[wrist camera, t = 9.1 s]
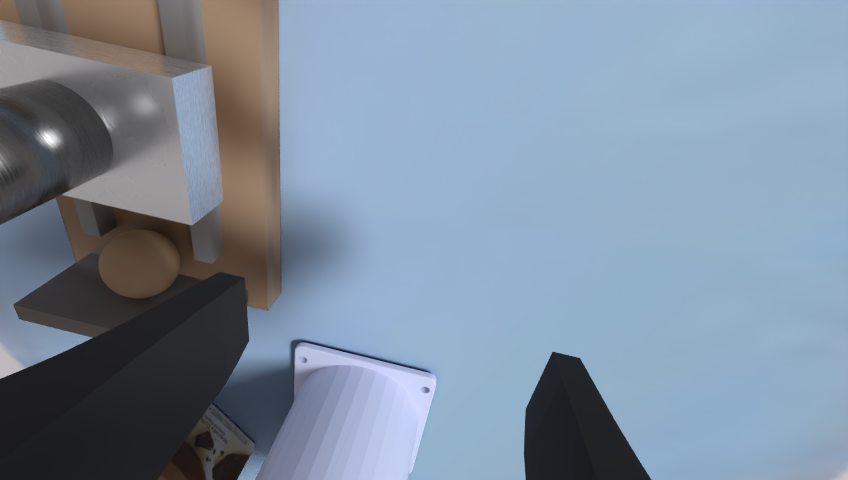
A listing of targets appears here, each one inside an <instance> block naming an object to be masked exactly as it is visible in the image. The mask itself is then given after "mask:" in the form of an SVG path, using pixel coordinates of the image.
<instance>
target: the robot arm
mask: <svg viewBox="0 0 848 480" xmlns="http://www.w3.org/2000/svg"><path fill="white" fill-rule="evenodd" d="M248 342H249V333H248V318H247V303H246V288H245V278H243V277H239V276H235V275H231V274H227V273H223V272H218V273H216V274H215V275H213V276H211V277H209V278H207V279H205V280H203V281H201V282H199V283H197V284H196V285H194V286H192V287H190V288H188V289H186V290H185V291H183V292H181V293H179V294H177V295H175V296H174V297H172V298H170V299H168V300H166V301H164V302H162V303H161V304H159V305H157V306H155V307H153V308H151V309H149V310H147V311H145V312H144V313H142V314H140V315H138V316H136V317H134V318H132V319H130V320H129V321H127V322H125V323H123V324H121V325H119V326H117V327H114V328H112V329H110V330H108V331H106V332H104V333H102V334H100V335H98V336H96V337H94V338H92V339H90V340H88V341H86V342H84V343H82V344H79V345H77V346H75V347H73V348H71V349H69V350H67V351H65V352H63V353H60V354H58V355H56V356H54V357H52V358H49V359H47V360H45V361H42V362H40V363H38V364H35V365H33V366H31V367H28V368H26V369H23V370H21V371H19V372H16V373H14V374H11V375H9V376H6V377H4V378H1V379H0V480H158V478H159V477H160V475H161V474H162V472H163V471H164V469H165V468H166V466H167V465H168V464H169V462H170V461H171V459H172V458H173V457H174V455H175V454H176V452H177V451H178V450H179V448H180V447H181V445H182V444H183V443H184V441H185V440H186V438H187V437H188V436H189V434H190V433H191V431H192V430H193V429H194V427H195V426H196V424H197V423H198V422H199V420H200V419H201V417H202V416H203V415H204V413H205V412H206V410H207V409H208V408H209V406H210V405H211V403H212V402H213V400H214V399H215V398H216V396H217V395H218V393H219V392H220V391H221V389H222V388H223V386H224V385H225V383H226V382H227V380H228V379H229V377H230V375H231V373H232V372H233V370H234V368H235V366H236V365H237V363H238V361H239V359H240V357H241V355H242V353H243V351H244V349H245V347H246V346H247V344H248ZM436 382H437V379H436V377H435V376H434V375H433V374H431V373H428V372H423V371H419V370H415V369H411V368H407V367H403V366H399V365H395V364H391V363H387V362H383V361H379V360H375V359H370V358H366V357H362V356H358V355H354V354H350V353H346V352H342V351H338V350H334V349H330V348H326V347H322V346H317V345H313V344H309V343H304V342H302V343H299V344H298V345H297V347H296V348H295V365H294V403H293V405H292V407H291V409H290V411H289V413H288V415H287V417H286V419H285V421H284V423H283V425H282V427H281V429H280V431H279V433H278V435H277V437H276V439H275V441H274V443H273V445H272V447H271V449H270V451H269V453H268V455H267V457H266V459H265V461H264V463H263V465H262V467H261V469H260V471H259V473H258V475H257V477H256V479H255V480H407V479H408V474H409V473H411V472H412V469H413V466H414V462H415V459H416V455H417V451H418V448H419V444H420V441H421V437H422V433H423V430H424V426H425V423H426V419H427V416H428V412H429V408H430V405H431V401H432V398H433V394H434V391H435V387H436ZM426 387H427V388H426ZM524 460H525V474H526V480H651V479H650V477H649V475H648V474H647V472H646V471H645V469H644V468H643V466H642V464H641V463H640V461H639V460H638V458H637V456H636V455H635V453H634V451H633V450H632V448H631V446H630V445H629V443H628V441H627V440H626V438H625V437H624V435H623V433H622V432H621V430H620V428H619V426H618V425H617V423H616V421H615V420H614V418H613V416H612V414H611V413H610V411H609V409H608V407H607V406H606V404H605V402H604V400H603V398H602V397H601V395H600V393H599V391H598V390H597V388H596V386H595V384H594V382H593V381H592V379H591V377H590V375H589V373H588V372H587V370H586V368H585V366H584V365H583V363H582V361H581V359H580V358H577V357H573V356H569V355H564V354H560V353H556V352H552V354H551V356H550V359H549V361H548V363H547V365H546V367H545V369H544V371H543V374H542V376H541V378H540V380H539V382H538V384H537V386H536V388H535V391H534V393H533V395H532V397H531V399H530V401H529V403H528V405H527V408H526V416H525V439H524Z"/></svg>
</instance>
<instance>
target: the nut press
mask: <svg viewBox="0 0 848 480" xmlns="http://www.w3.org/2000/svg"><path fill="white" fill-rule="evenodd" d="M0 20H3V21H8V22H13V23H17V24H22V25H26V26H31V27H35V28H40V29H45V30H49V31H54V32H58V33H63V34H68V35H72V36H77V37H81V38H86V39H91V40H95V41H100V42H104V43H109V44H114V45H118V46H123V47H127V48H132V49H137V50H141V51H146V52H150V53H155V54H159V55H164V56H169V57H173V58H178V59H182V60H187V61H192V62H196V63H201V64H205V65H210V66H212V75H213V87H214V98H215V109H216V120H217V132H218V143H219V154H220V165H221V176H222V188H223V199H224V201H222V202H221V203H220V204H219V205H217V206H216V207H215V208H214V209H212V210H211V211H210V212H209V213H207V214H206V215H205V216H204V217H202V218H201V219H200V220H198V221H197V222H196V223H195V224H193V225H188V224H184V223H180V222H176V221H171V220H167V219H163V218H159V217H154V216H150V215H146V214H142V213H137V212H133V211H129V210H125V209H120V208H116V207H112V206H108V205H103V204H99V203H95V202H91V201H86V200H82V199H78V198H74V197H69V196H65V195H60V196H58V197H56V200H57V203H58V206H59V209H60V212H61V215H62V218H63V222H64V225H65V228H66V231H67V234H68V237H69V240H70V243H71V246H72V249H73V253H74V256H75V259H76V263H75V264H73V265H72V266H70V267H69V268H68V269H66V270H65V271H63V272H62V273H60V274H59V275H57V276H56V277H54V278H53V279H51V280H50V281H48V282H47V283H45V284H44V285H42V286H41V287H39V288H38V289H36V290H35V291H33V292H32V293H30V294H29V295H27V296H26V297H24V298H23V299H21V300H20V301H18V302H17V303H15V304H14V305H13V306H14V308H15V310H16V312H17V315H18V317H19V319H21V320H25V321H29V322H33V323H37V324H41V325H45V326H49V327H53V328H57V329H61V330H65V331H69V332H73V333H77V334H81V335H85V336H89V337H93V338H94V337H96V336H98V335H100V334H102V333H104V332H106V331H108V330H110V329H112V328H114V327H117V326H119V325H121V324H123V323H125V322H127V321H129V320H130V319H132V318H134V317H136V316H138V315H140V314H142V313H144V312H145V311H147V310H149V309H151V308H153V307H155V306H157V305H159V304H161V303H162V302H164V301H166V300H168V299H170V298H172V297H174V296H175V295H177V294H179V293H181V292H183V291H185V290H186V289H188V288H190V287H192V286H194V285H196V284H197V283H199V282H201V281H203V280H205V279H207V278H209V277H211V276H213V275H215V274H216V273H218V272H223V273H227V274H231V275H235V276H239V277H243V278H245V288H246V303H247V306H251V307H255V308H259V309H263V310H267V311H268V310H269V308H270V307H271V306H272V304H273V303H274V301H275V300H276V299H277V297H278V296H279V294H280V293H281V228H280V130H279V32H278V0H0Z"/></svg>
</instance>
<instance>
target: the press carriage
mask: <svg viewBox="0 0 848 480" xmlns="http://www.w3.org/2000/svg"><path fill="white" fill-rule="evenodd" d="M60 195H65V196H69V197H74V198H78V199H82V200H86V201H91V202H95V203H99V204H103V205H108V206H112V207H116V208H120V209H125V210H129V211H133V212H137V213H142V214H146V215H150V216H154V217H159V218H163V219H167V220H171V221H176V222H180V223H184V224H188V225H193V224H195V223H196V222H197V221H198V220H200V219H201V218H202V217H204V216H205V215H206V214H207V213H209V212H210V211H211V210H212V209H214V208H215V207H216V206H217V205H219V204H220V203H221V202H222V201H224V199H223V188H222V176H221V165H220V154H219V143H218V132H217V120H216V109H215V98H214V87H213V75H212V66H210V65H205V64H201V63H196V62H192V61H187V60H182V59H178V58H173V57H169V56H164V55H159V54H155V53H150V52H146V51H141V50H137V49H132V48H127V47H123V46H118V45H114V44H109V43H104V42H100V41H95V40H91V39H86V38H81V37H77V36H72V35H68V34H63V33H58V32H54V31H49V30H45V29H40V28H35V27H31V26H26V25H22V24H17V23H13V22H8V21H3V20H0V225H1V224H3V223H5V222H7V221H9V220H11V219H13V218H15V217H17V216H19V215H21V214H23V213H25V212H27V211H29V210H31V209H33V208H35V207H37V206H39V205H41V204H43V203H45V202H47V201H49V200H51V199H54V198H56V197H58V196H60Z"/></svg>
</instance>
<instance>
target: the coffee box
mask: <svg viewBox="0 0 848 480" xmlns="http://www.w3.org/2000/svg"><path fill="white" fill-rule="evenodd" d="M254 448H255V444H254V443H253V442H252V441H251V440H250V439H249V438H248V437H247V436H246V435H245V434H244V433H243V432H242V431H241V430H240V429H239V428H238V427H236V426H235V425H234V424H233V423H232V422H231V421H230V420H229V419H228V418H227V417H226V416H225V415H224V414H223V413H222V412H221V411H220V410H219V409H218V408H217V407H215V406H214V405H213V404H212V403H211V405H210V406H209V408H208V409H207V410H206V412H205V413H204V415H203V416H202V417H201V419H200V420H199V422H198V423H197V424H196V426H195V427H194V429H193V430H192V431H191V433H190V434H189V436H188V437H187V438H186V440H185V441H184V443H183V444H182V445H181V447H180V448H179V450H178V451H177V452H176V454H175V455H174V457H173V458H172V459H171V461H170V462H169V464H168V465H167V466H166V468H165V469H164V471H163V472H162V474H161V475H160V477H159V478H158V480H237V479H238V477H239V475H240V473H241V471H242V470H243V468H244V466H245V464H246V462H247V460H248V459H249V457H250V455H251V453H252V451H253V450H254Z"/></svg>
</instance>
